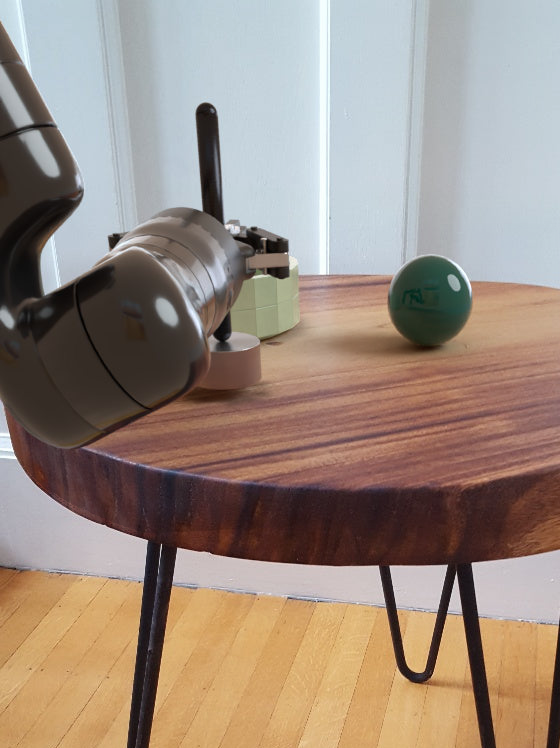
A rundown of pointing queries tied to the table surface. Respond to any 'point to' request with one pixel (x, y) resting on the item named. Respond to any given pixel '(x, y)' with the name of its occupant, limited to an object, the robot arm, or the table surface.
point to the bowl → (267, 304)
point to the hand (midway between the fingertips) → (221, 233)
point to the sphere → (430, 300)
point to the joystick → (230, 349)
